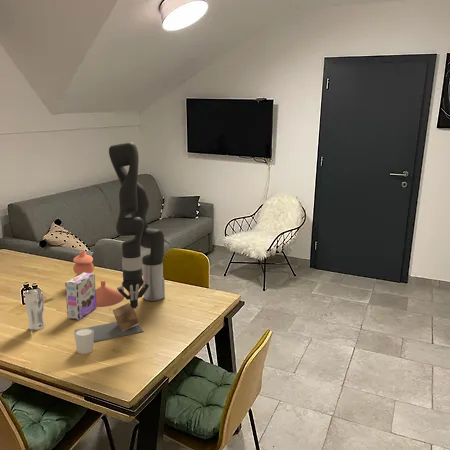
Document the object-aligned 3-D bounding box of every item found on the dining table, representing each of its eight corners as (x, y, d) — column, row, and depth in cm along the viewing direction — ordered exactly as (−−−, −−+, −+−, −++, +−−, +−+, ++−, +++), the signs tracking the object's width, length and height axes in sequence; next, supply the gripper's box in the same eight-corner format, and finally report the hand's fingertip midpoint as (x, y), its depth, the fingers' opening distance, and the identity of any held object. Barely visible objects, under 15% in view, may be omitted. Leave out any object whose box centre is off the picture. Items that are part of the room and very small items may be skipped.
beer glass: (49, 324, 182) (47, 290, 179) (37, 332, 176) (34, 296, 173) (36, 322, 185) (33, 288, 181) (23, 329, 178) (20, 293, 175)
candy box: (79, 320, 187) (76, 283, 183) (67, 318, 188) (64, 281, 185) (97, 308, 200) (95, 273, 196) (85, 306, 201) (83, 271, 198)
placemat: (133, 319, 188) (133, 318, 188) (143, 331, 177) (143, 330, 177) (74, 330, 177) (74, 329, 177) (81, 344, 166) (81, 343, 166)
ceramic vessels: (135, 299, 210) (133, 261, 206) (93, 311, 196) (91, 270, 192) (99, 280, 235) (97, 246, 231) (60, 290, 221) (57, 253, 217)
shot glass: (77, 345, 166) (76, 328, 164) (96, 345, 166) (95, 327, 165) (73, 354, 159) (72, 336, 157) (92, 354, 159) (91, 336, 158)
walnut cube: (134, 317, 185) (128, 302, 182) (139, 323, 179) (133, 309, 176) (118, 324, 182) (112, 310, 180) (122, 331, 176) (117, 316, 174)
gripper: (145, 262, 183) (147, 301, 186) (113, 266, 177) (115, 307, 181) (151, 267, 176) (152, 308, 180) (117, 272, 170) (120, 314, 174)
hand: (134, 307), depth 180 cm, fingers closed
